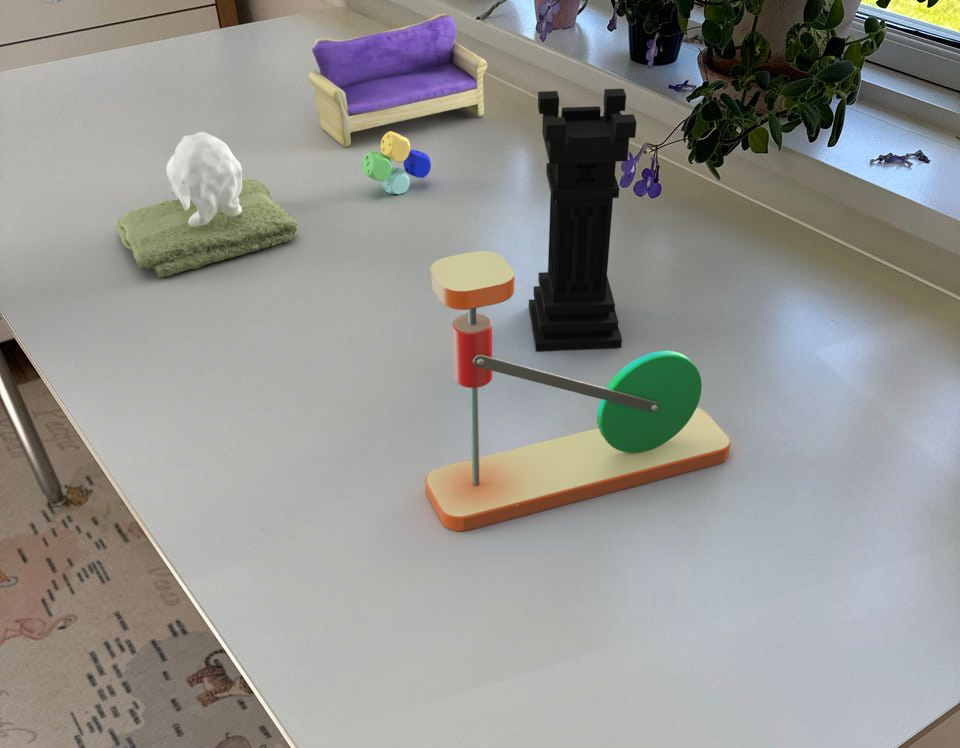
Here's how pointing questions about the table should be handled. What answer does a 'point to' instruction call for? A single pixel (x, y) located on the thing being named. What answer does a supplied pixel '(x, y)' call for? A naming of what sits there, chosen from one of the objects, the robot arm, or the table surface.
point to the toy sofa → (394, 77)
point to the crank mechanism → (574, 458)
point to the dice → (398, 151)
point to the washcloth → (204, 231)
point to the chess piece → (580, 223)
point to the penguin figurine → (205, 177)
